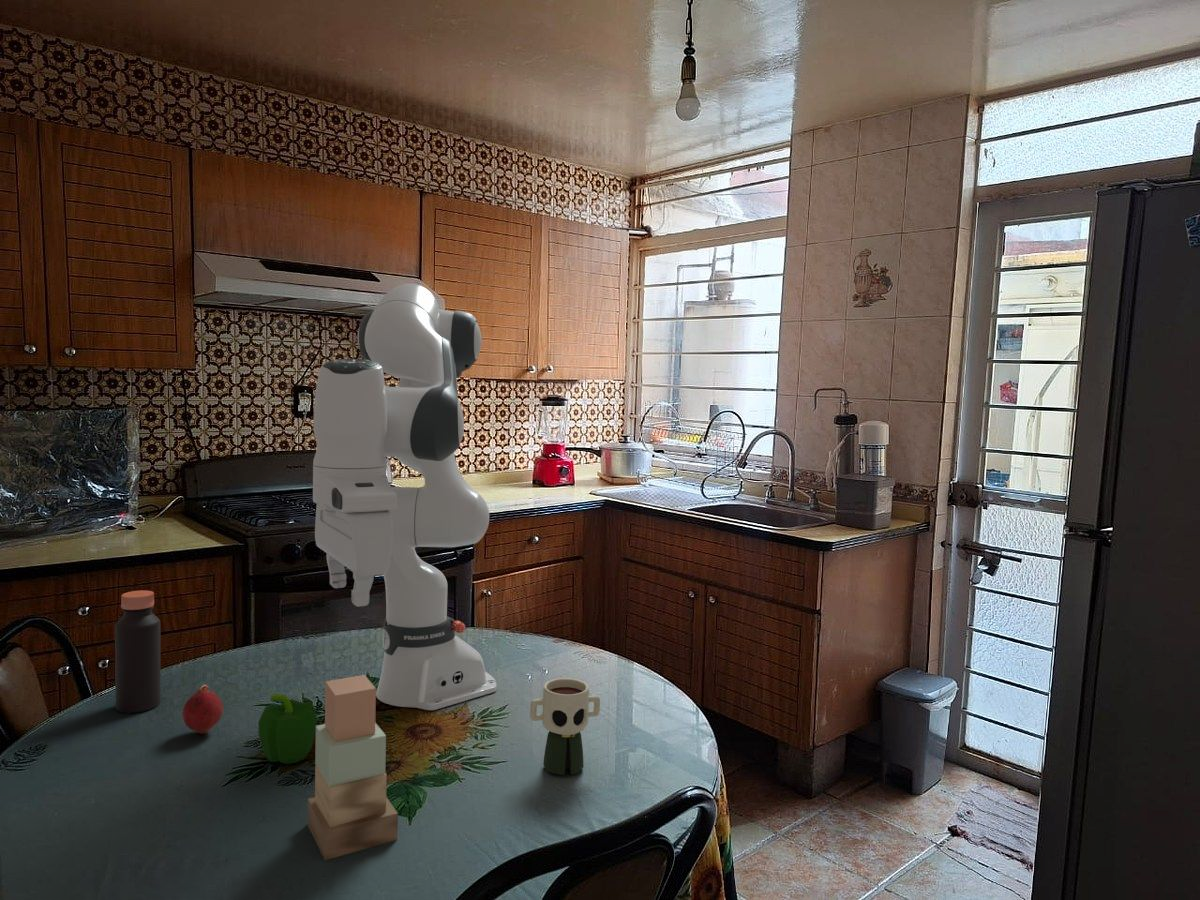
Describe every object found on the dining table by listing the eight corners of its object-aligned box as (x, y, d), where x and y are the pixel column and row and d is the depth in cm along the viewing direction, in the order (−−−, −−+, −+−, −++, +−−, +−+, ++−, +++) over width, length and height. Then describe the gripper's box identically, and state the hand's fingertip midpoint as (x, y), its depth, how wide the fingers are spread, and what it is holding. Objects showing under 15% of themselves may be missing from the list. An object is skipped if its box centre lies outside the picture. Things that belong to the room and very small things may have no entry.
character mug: (532, 783, 116) (535, 697, 115) (524, 760, 123) (527, 679, 122) (603, 776, 119) (606, 692, 118) (592, 754, 126) (595, 675, 125)
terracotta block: (363, 718, 104) (364, 674, 104) (375, 733, 100) (375, 688, 100) (325, 726, 102) (325, 681, 101) (335, 742, 97) (335, 695, 97)
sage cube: (369, 751, 106) (369, 715, 106) (385, 773, 100) (385, 735, 100) (315, 763, 102) (315, 725, 102) (328, 786, 96) (329, 747, 96)
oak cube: (368, 788, 106) (368, 752, 106) (385, 812, 100) (386, 774, 100) (314, 801, 102) (315, 764, 102) (330, 827, 96) (330, 788, 96)
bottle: (106, 709, 136) (105, 595, 134) (142, 695, 142) (141, 587, 141) (134, 716, 133) (133, 601, 132) (169, 702, 140) (169, 592, 138)
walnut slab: (375, 810, 108) (376, 782, 108) (397, 843, 101) (397, 813, 100) (307, 828, 103) (308, 798, 103) (324, 863, 96) (325, 832, 95)
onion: (206, 743, 125) (206, 694, 124) (174, 738, 126) (174, 690, 125) (230, 728, 130) (230, 681, 130) (199, 724, 132) (199, 677, 131)
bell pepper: (327, 749, 124) (328, 687, 124) (297, 773, 116) (298, 707, 116) (280, 742, 126) (280, 681, 125) (247, 765, 118) (247, 700, 117)
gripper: (303, 478, 106) (302, 579, 107) (348, 500, 89) (347, 619, 90) (350, 477, 110) (349, 574, 111) (402, 497, 93) (400, 612, 94)
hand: (348, 595), depth 100 cm, fingers open, 8 cm apart
